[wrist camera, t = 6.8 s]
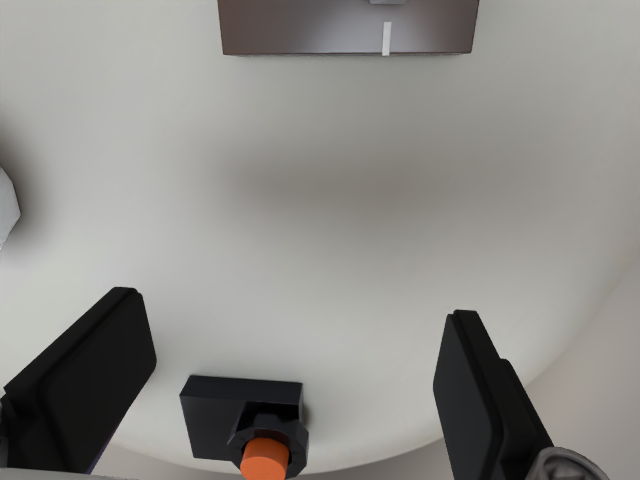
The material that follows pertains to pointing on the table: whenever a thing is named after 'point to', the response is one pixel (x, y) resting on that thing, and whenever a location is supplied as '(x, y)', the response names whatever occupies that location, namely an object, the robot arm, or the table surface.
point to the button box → (244, 418)
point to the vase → (7, 207)
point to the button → (264, 460)
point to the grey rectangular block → (387, 1)
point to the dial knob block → (346, 27)
